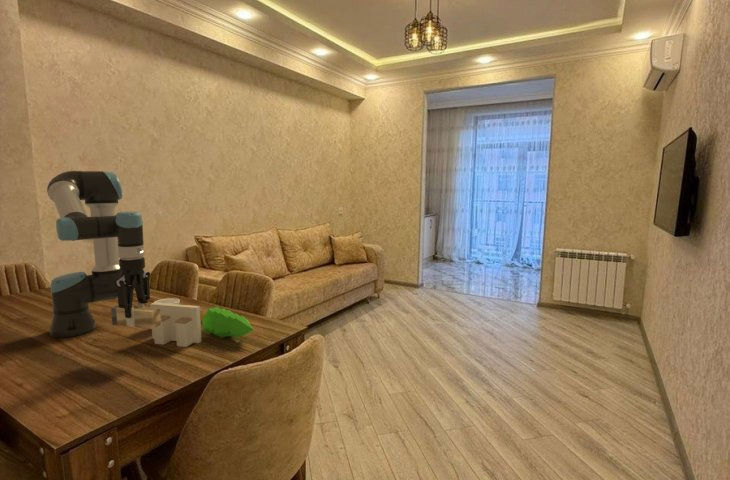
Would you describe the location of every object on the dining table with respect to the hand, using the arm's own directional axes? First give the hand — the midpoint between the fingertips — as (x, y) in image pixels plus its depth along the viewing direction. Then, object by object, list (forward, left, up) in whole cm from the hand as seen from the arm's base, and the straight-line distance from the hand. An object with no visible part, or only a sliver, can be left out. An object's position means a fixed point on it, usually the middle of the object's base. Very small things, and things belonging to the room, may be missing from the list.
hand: (136, 323), depth 137 cm
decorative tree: (+20, +23, -12) cm, 33 cm away
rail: (0, 0, 0) cm, 0 cm away
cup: (-10, +28, -12) cm, 32 cm away
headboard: (+3, +14, -12) cm, 18 cm away
